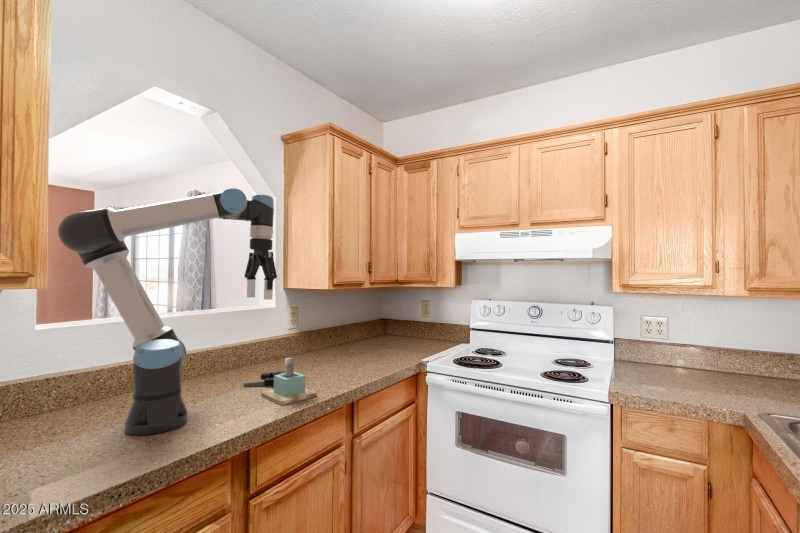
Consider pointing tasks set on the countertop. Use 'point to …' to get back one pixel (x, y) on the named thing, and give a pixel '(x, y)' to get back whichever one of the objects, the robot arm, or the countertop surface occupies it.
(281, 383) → the collar
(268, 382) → the black toy gun
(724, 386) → the countertop surface
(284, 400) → the peg stand
